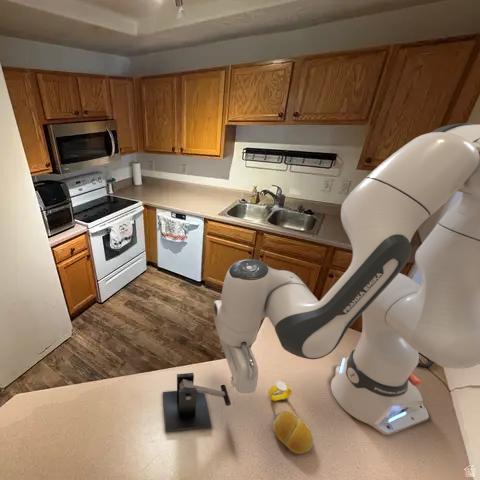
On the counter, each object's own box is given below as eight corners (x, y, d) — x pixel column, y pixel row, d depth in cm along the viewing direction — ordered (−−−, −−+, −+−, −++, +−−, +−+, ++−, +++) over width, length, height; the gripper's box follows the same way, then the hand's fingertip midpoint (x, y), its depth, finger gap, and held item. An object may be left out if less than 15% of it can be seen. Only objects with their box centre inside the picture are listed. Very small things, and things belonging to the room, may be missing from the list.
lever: (222, 388, 73) (227, 383, 72) (228, 407, 69) (232, 402, 68) (178, 379, 69) (182, 373, 68) (180, 398, 65) (185, 392, 64)
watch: (285, 391, 76) (289, 379, 73) (290, 401, 73) (295, 389, 71) (265, 394, 75) (269, 382, 72) (270, 404, 73) (274, 392, 70)
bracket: (203, 390, 77) (205, 363, 71) (211, 428, 68) (214, 400, 62) (163, 394, 76) (161, 366, 70) (166, 432, 68) (165, 404, 62)
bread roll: (302, 463, 61) (306, 455, 59) (267, 431, 67) (270, 423, 65) (317, 436, 66) (321, 428, 64) (282, 409, 72) (285, 400, 70)
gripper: (271, 367, 49) (257, 409, 55) (236, 295, 66) (228, 333, 73) (238, 369, 48) (229, 411, 55) (212, 296, 66) (207, 334, 73)
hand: (228, 366), depth 64 cm, fingers open, 8 cm apart
